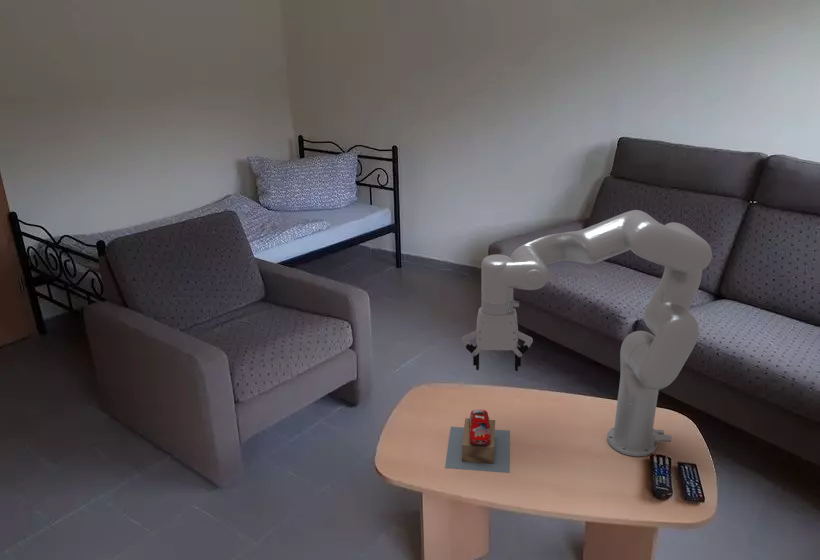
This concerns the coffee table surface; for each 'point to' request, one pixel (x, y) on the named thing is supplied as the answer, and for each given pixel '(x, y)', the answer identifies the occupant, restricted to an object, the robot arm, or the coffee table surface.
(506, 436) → the base plate
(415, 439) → the coffee table surface
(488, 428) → the race car
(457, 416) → the coffee table surface
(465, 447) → the walnut block
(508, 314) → the robot arm
